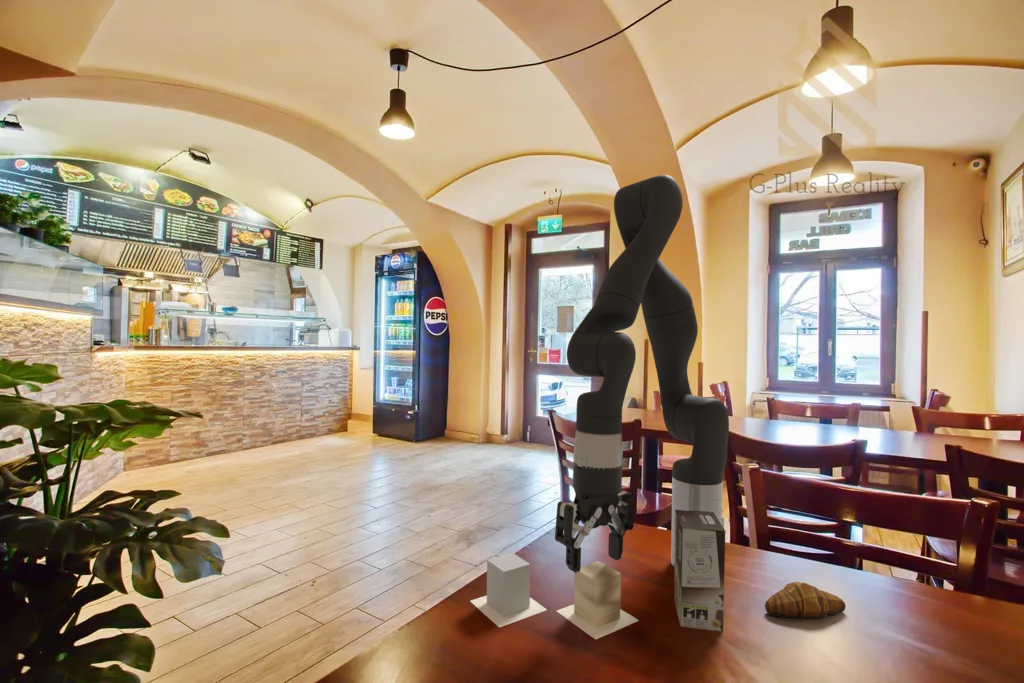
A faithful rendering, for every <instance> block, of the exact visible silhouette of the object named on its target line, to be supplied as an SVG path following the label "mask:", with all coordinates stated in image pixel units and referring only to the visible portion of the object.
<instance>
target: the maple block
mask: <svg viewBox="0 0 1024 683" xmlns="http://www.w3.org/2000/svg"><path fill="white" fill-rule="evenodd" d="M621 580H622V573H621V572H620V571H618V570H616V569H614V568H612V567H611V566H608V565H606V564H605V563H603V562H600V560H596V561H593V562H590V563H588V564H585V565H582V566H581V569H580V571H579V572H576V573H575V572H574V587H573V588H574V591H573V592H574V593H573V594H574V595H573V596H574V599H573V600H574V613H575V614H576V615H578V616H579V617H581V618H582V619H584V620H585V621H587V622H588V623H589V624H591V625H592V626H594V627H595V628H598V627H601V626H603V625H605V624H608V623H610V622H612V621H615V620H617V619H619V618H620V609H621V595H622V594H621V593H622V592H621V591H622V590H621V588H622V587H621V586H622V585H621V582H622V581H621Z"/></svg>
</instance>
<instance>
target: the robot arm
mask: <svg viewBox="0 0 1024 683" xmlns="http://www.w3.org/2000/svg"><path fill="white" fill-rule="evenodd" d="M683 200H684V199H683V194H682V191H681V188H680V185H679V183H678V182H677V181H676V179H675V178H673V177H672V176H670V175H668V174H660V175H655V176H651V177H649V178H646V179H643V180H640V181H636V182H634V183H631V184H628V185H625V186H622V187H621V188H619V189H618V190H617V191H616V193H615V196H614V200H613V210H614V211H613V212H614V216H615V220H616V224H617V228H618V231H619V233H620V237H621V240H622V243H623V245H624V248H625V249H624V250H623V251H622V252H621V254H619V256H618V257H617V258H616V259H615V260H614V262H613V263H612V264H611V265H610V266H609V268H608V269H607V272H606V273H605V275H604V276H603V279H602V282H601V284H600V288H599V290H598V292H597V296H596V298H595V301H594V304H593V306H592V307H591V309H590V310H589V311H588V312H587V313H586V315H585V317H584V318H583V320H582V321H581V322H580V323H579V325H578V326H577V327H576V329H575V331H574V332H573V333H572V335H571V337H570V339H569V341H568V345H567V349H566V360H567V364H568V366H569V368H570V370H571V371H572V372H573V373H574V374H576V375H578V376H583V377H584V376H585V377H597V378H603V382H602V384H601V386H600V387H599V389H598V390H594V391H587V392H583V393H581V394H579V396H578V397H577V400H576V422H575V436H574V441H573V457H572V458H573V461H572V462H573V463H572V466H573V467H572V488H573V490H574V493H575V494H574V495H575V496H574V498H573V501H572V502H564V501H558V503H557V505H556V519H555V534H554V539H555V541H556V542H558V543H560V544H562V545H563V546H565V565H566V567H567V568H568V569H569V570H570V571H571V572H573V573H574V574H575V573H576V572H579V571H580V569H581V563H582V560H581V559H582V547H580V546H581V545H582V543H583V541H584V540H585V538H586V536H589V534H590V533H591V531H592V530H593V529H598V527H600V526H601V527H605V526H607V528H608V529H609V530H608V531H610V532H609V533H608V549H607V550H608V552H607V553H608V556H609V557H610V559H613V560H615V561H619V560H621V559H622V554H623V552H624V549H623V548H624V536H626V532H627V531H628V530H629V531H632V530H634V495H633V494H632V493H631V492H628V491H626V490H622V489H623V487H622V486H623V484H622V483H623V454H624V453H623V452H624V450H623V448H624V447H623V436H622V435H623V434H622V429H623V428H622V427H623V426H622V424H623V406H624V401H625V397H626V395H627V390H628V387H629V386H628V385H629V384H630V379H631V377H632V374H633V371H634V367H635V364H636V357H637V355H636V354H637V352H636V347H635V344H634V342H633V340H632V339H631V337H630V336H629V335H628V334H626V333H624V332H621V331H623V330H627V329H629V328H631V327H632V326H633V324H634V323H635V321H636V319H637V316H638V313H639V310H640V306H641V311H642V316H643V319H644V324H645V327H646V333H647V336H648V339H649V343H650V346H651V351H652V354H653V355H652V356H653V360H654V364H655V369H656V375H657V381H658V388H659V395H660V405H661V410H662V411H661V412H662V417H663V421H664V425H665V428H666V430H667V432H668V434H669V435H670V436H672V437H673V438H674V439H676V440H679V441H682V442H686V443H689V444H690V443H691V444H692V449H691V450H692V451H691V455H690V456H689V457H687V458H680V459H677V460H676V461H674V462H673V464H672V468H671V471H672V473H671V476H672V478H671V481H672V482H671V491H672V492H671V531H670V532H671V533H670V534H671V535H670V537H671V539H670V540H671V541H670V564H671V566H672V567H673V568H674V558H675V510H684V511H689V510H690V511H708V512H714V514H715V515H716V517H717V518H718V520H719V522H720V523H721V525H722V526H723V528H724V529H725V519H724V517H723V476H724V471H725V469H726V465H727V458H728V443H729V435H730V434H729V433H730V431H729V430H730V418H729V417H730V416H729V413H728V409H727V406H726V405H725V403H724V402H723V401H722V400H719V399H717V398H713V397H706V396H698V395H693V393H692V389H691V387H690V381H689V376H688V366H689V360H690V359H691V355H692V352H693V350H694V348H695V345H696V341H697V337H698V332H699V331H698V330H699V329H698V328H699V327H698V322H697V321H698V320H697V316H696V312H695V306H694V302H693V300H692V299H693V298H692V296H691V293H690V291H689V290H688V289H687V288H686V286H685V285H684V284H683V282H681V280H680V279H678V277H677V276H676V275H675V274H674V273H673V272H672V271H671V270H670V269H669V268H668V267H667V266H666V265H665V264H664V263H663V261H662V260H661V258H660V257H661V254H662V253H663V252H664V249H665V247H666V246H667V244H668V241H669V240H670V237H671V236H672V234H673V233H674V230H675V228H676V227H677V224H678V222H679V220H680V218H681V215H682V210H683V202H684V201H683ZM580 522H581V524H583V525H580ZM575 535H576V536H575Z"/></svg>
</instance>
